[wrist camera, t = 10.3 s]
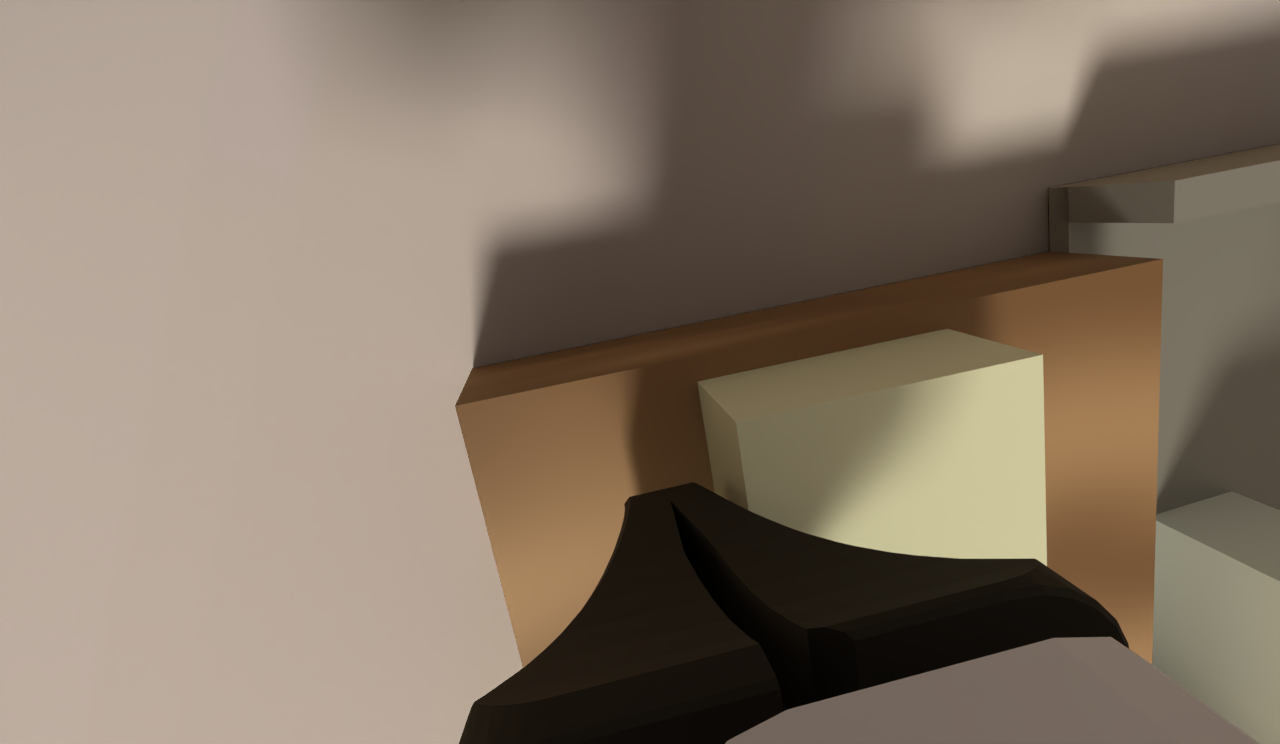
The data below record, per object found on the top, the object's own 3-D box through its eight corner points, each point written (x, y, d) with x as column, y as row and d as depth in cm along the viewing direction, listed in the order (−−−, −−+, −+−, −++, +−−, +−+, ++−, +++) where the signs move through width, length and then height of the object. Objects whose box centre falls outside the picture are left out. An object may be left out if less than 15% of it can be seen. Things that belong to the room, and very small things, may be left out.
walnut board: (1057, 724, 19) (1148, 812, 16) (593, 854, 18) (603, 976, 15) (1049, 251, 16) (1163, 258, 13) (472, 368, 14) (455, 405, 12)
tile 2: (959, 557, 14) (1048, 627, 11) (734, 613, 13) (776, 699, 11) (947, 328, 13) (1043, 354, 10) (697, 381, 12) (736, 421, 10)
